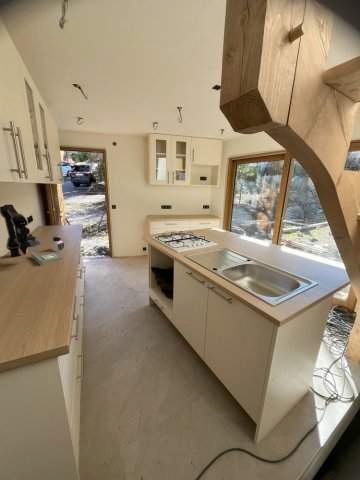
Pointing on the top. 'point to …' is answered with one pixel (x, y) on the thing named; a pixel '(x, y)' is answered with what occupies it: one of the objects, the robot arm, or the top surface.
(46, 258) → the resting mat
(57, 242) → the medicine bottle
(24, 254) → the ball
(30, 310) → the top surface
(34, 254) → the gray wall
